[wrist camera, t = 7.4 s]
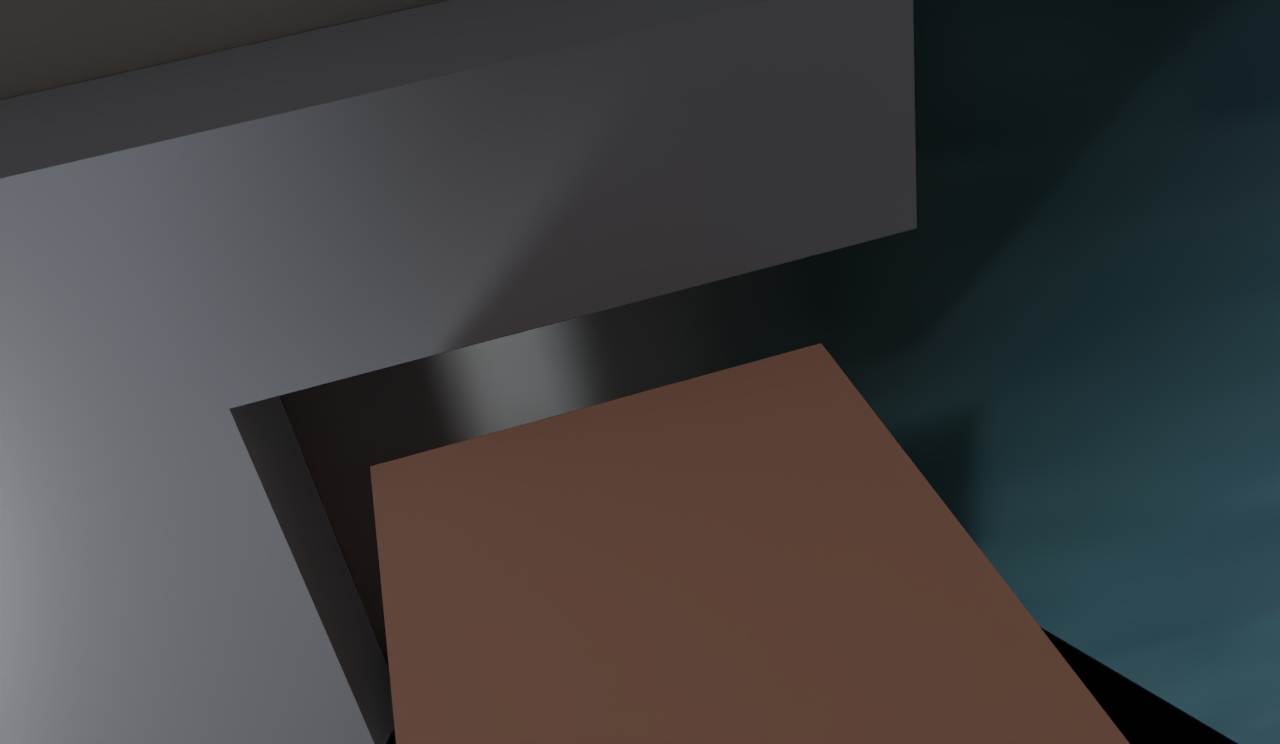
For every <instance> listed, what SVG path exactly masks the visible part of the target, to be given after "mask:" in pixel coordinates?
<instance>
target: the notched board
mask: <svg viewBox="0 0 1280 744" xmlns="http://www.w3.org/2000/svg"><path fill="white" fill-rule="evenodd" d="M916 228H917V204H916V143H915V82H914V21H913V0H447V1H443V2H439V3H434V4H430V5H425V6H421V7H416V8H412V9H407V10H403V11H398V12H394V13H389V14H385V15H380V16H376V17H371V18H367V19H362V20H358V21H353V22H349V23H344V24H340V25H335V26H331V27H327V28H322V29H318V30H313V31H309V32H304V33H300V34H295V35H291V36H286V37H282V38H277V39H273V40H268V41H264V42H259V43H255V44H250V45H246V46H241V47H237V48H232V49H228V50H223V51H219V52H214V53H210V54H206V55H201V56H197V57H192V58H188V59H183V60H179V61H174V62H170V63H165V64H161V65H156V66H152V67H147V68H143V69H138V70H134V71H129V72H125V73H120V74H116V75H111V76H107V77H102V78H98V79H93V80H89V81H85V82H80V83H76V84H71V85H67V86H62V87H58V88H53V89H49V90H44V91H40V92H35V93H31V94H26V95H22V96H17V97H13V98H8V99H4V100H0V744H384V741H385V739H386V737H387V735H388V734H389V733H390V732H391V731H392V730H393V729H395V727H394V716H393V705H392V695H391V684H390V673H389V669H388V666H387V664H386V661H385V659H384V656H383V654H382V651H381V649H380V646H379V644H378V641H377V639H376V636H375V634H374V631H373V629H372V626H371V624H370V621H369V619H368V616H367V614H366V611H365V609H364V606H363V604H362V601H361V599H360V596H359V594H358V591H357V589H356V586H355V584H354V581H353V579H352V576H351V574H350V571H349V569H348V566H347V564H346V561H345V559H344V556H343V554H342V551H341V549H340V546H339V544H338V541H337V539H336V536H335V534H334V531H333V529H332V526H331V524H330V521H329V519H328V516H327V514H326V511H325V509H324V506H323V504H322V501H321V499H320V496H319V494H318V491H317V489H316V486H315V484H314V481H313V479H312V476H311V474H310V471H309V469H308V466H307V464H306V461H305V459H304V456H303V454H302V451H301V449H300V446H299V444H298V441H297V439H296V436H295V434H294V431H293V429H292V426H291V424H290V421H289V419H288V416H287V414H286V411H285V409H284V406H283V404H282V401H281V399H280V395H284V394H287V393H291V392H295V391H299V390H303V389H306V388H310V387H314V386H318V385H322V384H326V383H329V382H333V381H337V380H341V379H345V378H348V377H352V376H356V375H360V374H364V373H367V372H371V371H375V370H379V369H383V368H386V367H390V366H394V365H398V364H402V363H406V362H409V361H413V360H417V359H421V358H425V357H428V356H432V355H436V354H440V353H444V352H447V351H451V350H455V349H459V348H463V347H466V346H470V345H474V344H478V343H482V342H486V341H489V340H493V339H497V338H501V337H505V336H508V335H512V334H516V333H520V332H524V331H527V330H531V329H535V328H539V327H543V326H546V325H550V324H554V323H558V322H562V321H566V320H569V319H573V318H577V317H581V316H585V315H588V314H592V313H596V312H600V311H604V310H607V309H611V308H615V307H619V306H623V305H626V304H630V303H634V302H638V301H642V300H646V299H649V298H653V297H657V296H661V295H665V294H668V293H672V292H676V291H680V290H684V289H687V288H691V287H695V286H699V285H703V284H706V283H710V282H714V281H718V280H722V279H726V278H729V277H733V276H737V275H741V274H745V273H748V272H752V271H756V270H760V269H764V268H767V267H771V266H775V265H779V264H783V263H786V262H790V261H794V260H798V259H802V258H806V257H809V256H813V255H817V254H821V253H825V252H828V251H832V250H836V249H840V248H844V247H847V246H851V245H855V244H859V243H863V242H866V241H870V240H874V239H878V238H882V237H885V236H889V235H893V234H897V233H901V232H905V231H908V230H912V229H916Z"/></svg>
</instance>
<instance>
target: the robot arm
mask: <svg viewBox="0 0 1280 744" xmlns="http://www.w3.org/2000/svg"><path fill="white" fill-rule="evenodd" d="M1040 628H1041V627H1040ZM1041 629H1042V630H1043V632H1044V633H1045V634H1046V636H1047V637H1048V638H1049V640H1050V641H1051V642H1052V643H1053V645H1054V646H1055V647H1056V649H1057V650H1058V651H1059V652H1060V654H1061V655H1062V656H1063V658H1064V659H1065V660H1066V662H1067V663H1068V664H1069V665H1070V667H1071V668H1072V669H1073V671H1074V672H1075V673H1076V675H1077V676H1078V677H1079V678H1080V680H1081V681H1082V682H1083V684H1084V685H1085V686H1086V688H1087V689H1088V690H1089V691H1090V693H1091V694H1092V695H1093V697H1094V698H1095V699H1096V701H1097V702H1098V703H1099V704H1100V706H1101V707H1102V708H1103V710H1104V711H1105V712H1106V713H1107V715H1108V716H1109V717H1110V719H1111V720H1112V721H1113V723H1114V724H1115V725H1116V726H1117V728H1118V729H1119V730H1120V732H1121V733H1122V734H1123V736H1124V737H1125V738H1126V739H1127V741H1128V742H1129V743H1130V744H1238V743H1236V742H1234V741H1233V740H1231V739H1229V738H1228V737H1226V736H1224V735H1223V734H1221V733H1219V732H1217V731H1216V730H1214V729H1212V728H1211V727H1209V726H1207V725H1206V724H1204V723H1202V722H1201V721H1199V720H1197V719H1195V718H1194V717H1192V716H1190V715H1189V714H1187V713H1185V712H1184V711H1182V710H1180V709H1178V708H1177V707H1175V706H1173V705H1172V704H1170V703H1168V702H1167V701H1165V700H1163V699H1162V698H1160V697H1158V696H1156V695H1155V694H1153V693H1151V692H1150V691H1148V690H1146V689H1145V688H1143V687H1141V686H1139V685H1138V684H1136V683H1134V682H1133V681H1131V680H1129V679H1128V678H1126V677H1124V676H1123V675H1121V674H1119V673H1117V672H1116V671H1114V670H1112V669H1111V668H1109V667H1107V666H1106V665H1104V664H1102V663H1100V662H1099V661H1097V660H1095V659H1094V658H1092V657H1090V656H1089V655H1087V654H1085V653H1083V652H1082V651H1080V650H1078V649H1077V648H1075V647H1073V646H1072V645H1070V644H1068V643H1067V642H1065V641H1063V640H1061V639H1060V638H1058V637H1056V636H1055V635H1053V634H1051V633H1050V632H1048V631H1046V630H1044V629H1043V628H1041ZM384 744H396V737H395V729H393V730H392V731H391V732H390V733H389V734H388V735H387V737H386V739H385V741H384Z"/></svg>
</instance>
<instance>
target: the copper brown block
mask: <svg viewBox="0 0 1280 744" xmlns="http://www.w3.org/2000/svg"><path fill="white" fill-rule="evenodd" d="M370 472H371V482H372V493H373V503H374V514H375V525H376V535H377V546H378V557H379V567H380V578H381V588H382V599H383V610H384V620H385V631H386V642H387V652H388V663H389V673H390V684H391V695H392V705H393V716H394V727H395V737H396V744H1130V743H1129V742H1128V741H1127V739H1126V738H1125V737H1124V736H1123V734H1122V733H1121V732H1120V730H1119V729H1118V728H1117V726H1116V725H1115V724H1114V723H1113V721H1112V720H1111V719H1110V717H1109V716H1108V715H1107V713H1106V712H1105V711H1104V710H1103V708H1102V707H1101V706H1100V704H1099V703H1098V702H1097V701H1096V699H1095V698H1094V697H1093V695H1092V694H1091V693H1090V691H1089V690H1088V689H1087V688H1086V686H1085V685H1084V684H1083V682H1082V681H1081V680H1080V678H1079V677H1078V676H1077V675H1076V673H1075V672H1074V671H1073V669H1072V668H1071V667H1070V665H1069V664H1068V663H1067V662H1066V660H1065V659H1064V658H1063V656H1062V655H1061V654H1060V652H1059V651H1058V650H1057V649H1056V647H1055V646H1054V645H1053V643H1052V642H1051V641H1050V640H1049V638H1048V637H1047V636H1046V634H1045V633H1044V632H1043V630H1042V629H1041V628H1040V627H1039V625H1038V624H1037V623H1036V621H1035V620H1034V619H1033V617H1032V616H1031V615H1030V614H1029V612H1028V611H1027V610H1026V608H1025V607H1024V606H1023V604H1022V603H1021V602H1020V601H1019V599H1018V598H1017V597H1016V595H1015V594H1014V593H1013V591H1012V590H1011V589H1010V588H1009V586H1008V585H1007V584H1006V582H1005V581H1004V580H1003V579H1002V577H1001V576H1000V575H999V573H998V572H997V571H996V569H995V568H994V567H993V566H992V564H991V563H990V562H989V560H988V559H987V558H986V556H985V555H984V554H983V553H982V551H981V550H980V549H979V547H978V546H977V545H976V543H975V542H974V541H973V540H972V538H971V537H970V536H969V534H968V533H967V532H966V530H965V529H964V528H963V527H962V525H961V524H960V523H959V521H958V520H957V519H956V518H955V516H954V515H953V514H952V512H951V511H950V510H949V508H948V507H947V506H946V505H945V503H944V502H943V501H942V499H941V498H940V497H939V495H938V494H937V493H936V492H935V490H934V489H933V488H932V486H931V485H930V484H929V482H928V481H927V480H926V479H925V477H924V476H923V475H922V473H921V472H920V471H919V469H918V468H917V467H916V466H915V464H914V463H913V462H912V460H911V459H910V458H909V457H908V455H907V454H906V453H905V451H904V450H903V449H902V447H901V446H900V445H899V444H898V442H897V441H896V440H895V438H894V437H893V436H892V434H891V433H890V432H889V431H888V429H887V428H886V427H885V425H884V424H883V423H882V421H881V420H880V419H879V418H878V416H877V415H876V414H875V412H874V411H873V410H872V408H871V407H870V406H869V405H868V403H867V402H866V401H865V399H864V398H863V397H862V396H861V394H860V393H859V392H858V390H857V389H856V388H855V386H854V385H853V384H852V383H851V381H850V380H849V379H848V377H847V376H846V375H845V373H844V372H843V371H842V370H841V368H840V367H839V366H838V364H837V363H836V362H835V360H834V359H833V358H832V357H831V355H830V354H829V353H828V351H827V350H826V349H825V347H824V346H823V345H822V344H821V343H820V344H816V345H812V346H809V347H805V348H801V349H798V350H794V351H790V352H787V353H783V354H780V355H776V356H772V357H769V358H765V359H761V360H758V361H754V362H750V363H747V364H743V365H739V366H736V367H732V368H728V369H725V370H721V371H717V372H714V373H710V374H706V375H703V376H699V377H695V378H692V379H688V380H685V381H681V382H677V383H674V384H670V385H666V386H663V387H659V388H655V389H652V390H648V391H644V392H641V393H637V394H633V395H630V396H626V397H622V398H619V399H615V400H611V401H608V402H604V403H600V404H597V405H593V406H590V407H586V408H582V409H579V410H575V411H571V412H568V413H564V414H560V415H557V416H553V417H549V418H546V419H542V420H538V421H535V422H531V423H527V424H524V425H520V426H516V427H513V428H509V429H505V430H502V431H498V432H495V433H491V434H487V435H484V436H480V437H476V438H473V439H469V440H465V441H462V442H458V443H454V444H451V445H447V446H443V447H440V448H436V449H432V450H429V451H425V452H421V453H418V454H414V455H410V456H407V457H403V458H400V459H396V460H392V461H389V462H385V463H381V464H378V465H374V466H370Z"/></svg>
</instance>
